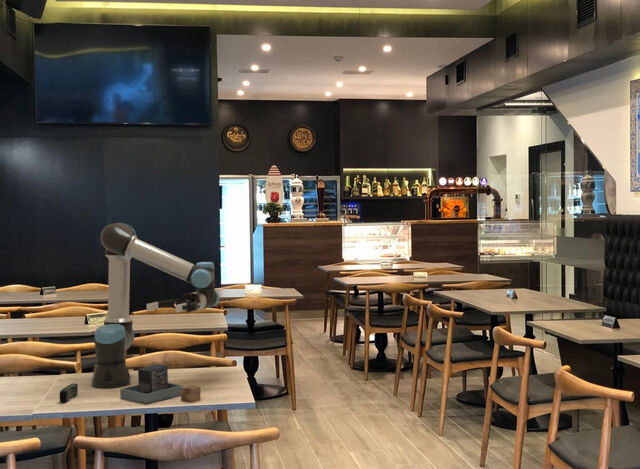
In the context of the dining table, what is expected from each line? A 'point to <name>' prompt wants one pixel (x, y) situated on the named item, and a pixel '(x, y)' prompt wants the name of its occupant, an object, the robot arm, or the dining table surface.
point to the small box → (153, 378)
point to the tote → (150, 394)
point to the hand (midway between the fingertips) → (161, 308)
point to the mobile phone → (68, 392)
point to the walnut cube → (190, 393)
